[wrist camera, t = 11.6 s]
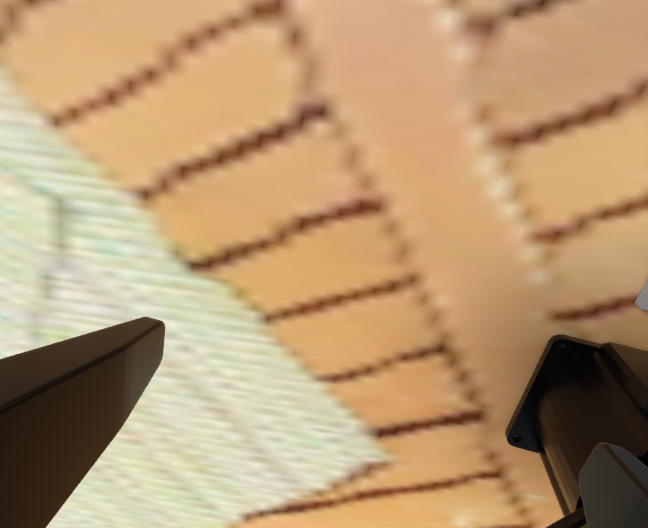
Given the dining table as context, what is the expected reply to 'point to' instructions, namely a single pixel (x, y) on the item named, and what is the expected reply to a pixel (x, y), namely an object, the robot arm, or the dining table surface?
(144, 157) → the dining table surface
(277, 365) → the dining table surface
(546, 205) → the dining table surface
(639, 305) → the mat
